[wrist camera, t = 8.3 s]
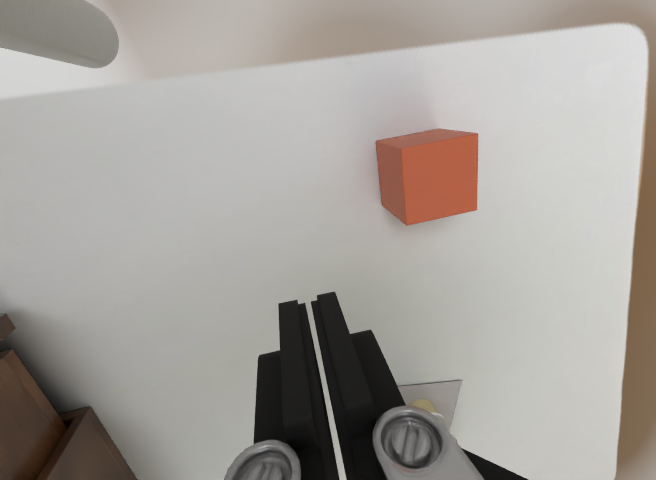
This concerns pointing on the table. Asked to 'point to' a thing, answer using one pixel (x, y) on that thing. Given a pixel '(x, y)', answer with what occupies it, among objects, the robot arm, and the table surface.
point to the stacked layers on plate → (434, 399)
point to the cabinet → (85, 452)
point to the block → (428, 174)
